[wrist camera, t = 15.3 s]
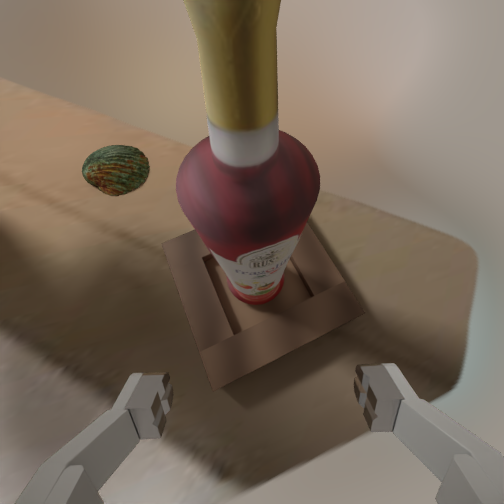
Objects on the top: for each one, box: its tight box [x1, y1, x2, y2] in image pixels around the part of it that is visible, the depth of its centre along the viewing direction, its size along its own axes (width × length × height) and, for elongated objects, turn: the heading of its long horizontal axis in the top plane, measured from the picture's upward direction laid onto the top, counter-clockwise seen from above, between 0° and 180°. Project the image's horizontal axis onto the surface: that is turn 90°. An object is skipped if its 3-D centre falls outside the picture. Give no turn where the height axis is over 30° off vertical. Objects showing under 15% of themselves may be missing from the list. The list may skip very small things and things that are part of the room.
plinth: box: [162, 222, 365, 391], centre depth 30 cm, size 18×18×4 cm
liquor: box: [176, 0, 320, 305], centre depth 17 cm, size 7×7×28 cm
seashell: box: [82, 145, 149, 196], centre depth 38 cm, size 10×4×10 cm
